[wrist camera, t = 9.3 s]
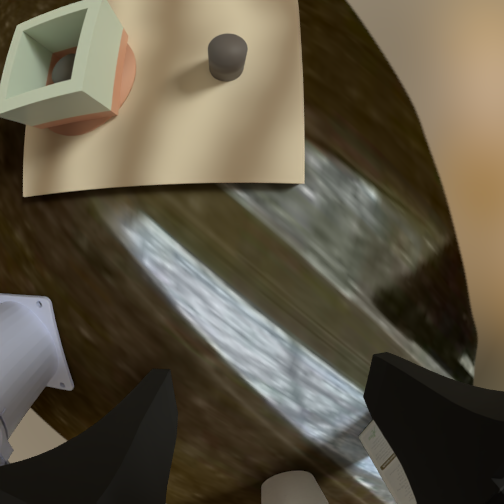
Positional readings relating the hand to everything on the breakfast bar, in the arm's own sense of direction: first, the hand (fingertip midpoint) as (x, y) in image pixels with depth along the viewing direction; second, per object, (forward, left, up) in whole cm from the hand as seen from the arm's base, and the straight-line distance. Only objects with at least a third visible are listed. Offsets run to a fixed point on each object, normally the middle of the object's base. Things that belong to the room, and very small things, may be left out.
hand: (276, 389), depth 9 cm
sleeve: (-11, +14, -8) cm, 19 cm away
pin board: (-6, +14, -9) cm, 18 cm away
